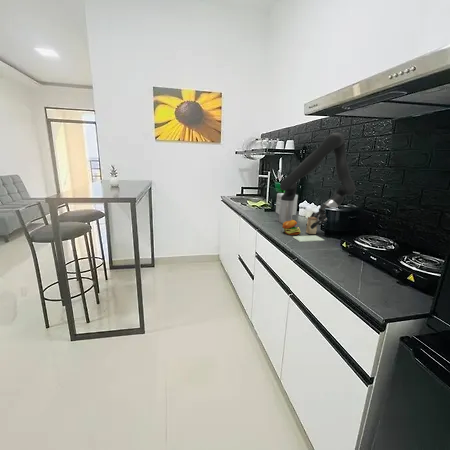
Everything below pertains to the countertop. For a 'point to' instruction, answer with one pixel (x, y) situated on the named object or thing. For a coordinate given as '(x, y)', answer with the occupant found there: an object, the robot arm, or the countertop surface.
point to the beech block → (309, 223)
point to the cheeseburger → (291, 227)
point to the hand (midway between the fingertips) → (309, 226)
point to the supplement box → (278, 203)
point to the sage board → (308, 238)
